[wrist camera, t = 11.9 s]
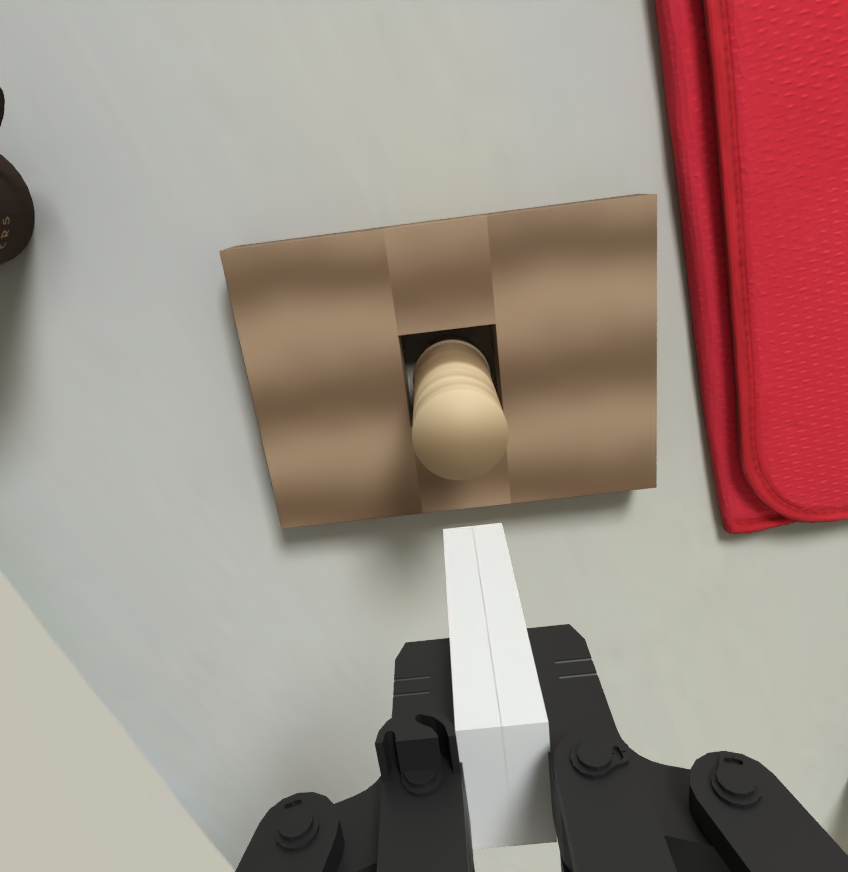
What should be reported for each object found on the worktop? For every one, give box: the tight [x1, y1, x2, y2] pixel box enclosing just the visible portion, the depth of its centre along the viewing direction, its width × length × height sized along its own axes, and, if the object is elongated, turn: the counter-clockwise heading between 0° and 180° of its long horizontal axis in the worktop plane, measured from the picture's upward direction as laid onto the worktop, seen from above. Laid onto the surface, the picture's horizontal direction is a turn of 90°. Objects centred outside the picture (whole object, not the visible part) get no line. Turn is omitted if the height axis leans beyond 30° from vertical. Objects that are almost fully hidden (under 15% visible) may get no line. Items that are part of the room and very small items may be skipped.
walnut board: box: [220, 194, 657, 528], centre depth 37 cm, size 16×22×3 cm
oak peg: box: [412, 336, 509, 480], centre depth 33 cm, size 4×4×12 cm
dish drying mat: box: [655, 0, 848, 534], centre depth 33 cm, size 16×41×4 cm, turn 15°
